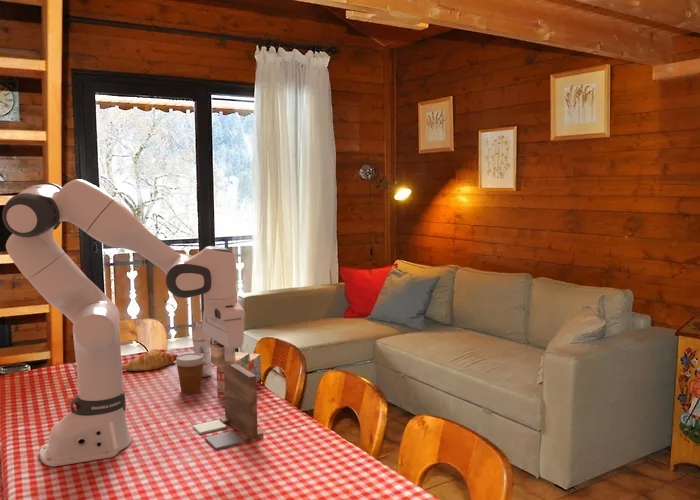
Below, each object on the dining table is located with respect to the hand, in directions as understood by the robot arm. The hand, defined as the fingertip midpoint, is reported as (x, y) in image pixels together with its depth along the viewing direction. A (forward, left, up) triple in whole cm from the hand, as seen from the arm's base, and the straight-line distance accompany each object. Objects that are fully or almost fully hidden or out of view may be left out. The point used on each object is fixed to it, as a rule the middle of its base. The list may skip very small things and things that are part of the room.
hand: (222, 357), depth 166 cm
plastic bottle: (+15, +57, -24) cm, 63 cm away
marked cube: (0, 0, -2) cm, 2 cm away
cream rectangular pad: (0, +11, -23) cm, 26 cm away
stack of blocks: (+21, +38, -24) cm, 50 cm away
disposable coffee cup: (+6, +44, -24) cm, 50 cm away
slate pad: (0, 0, -23) cm, 23 cm away
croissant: (+3, +79, -24) cm, 83 cm away
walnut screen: (+7, +5, -23) cm, 25 cm away
